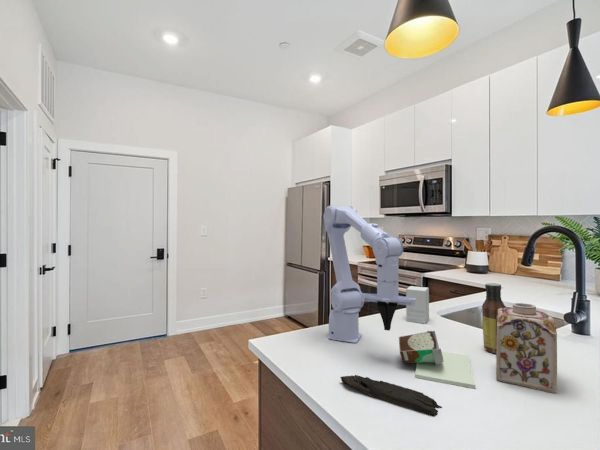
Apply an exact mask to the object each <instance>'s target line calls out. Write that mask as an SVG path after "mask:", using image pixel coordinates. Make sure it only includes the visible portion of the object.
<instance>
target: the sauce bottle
mask: <svg viewBox="0 0 600 450" xmlns="http://www.w3.org/2000/svg"><path fill="white" fill-rule="evenodd" d="M484 285H485V286H484V287H485V291H486V292H485V293H486V294H485V295H486V296H485V300H484V302H483V303H482V334H483V335H482V337H483V348H484V350H485V351H487V352H489V353H491V354H495V355H496V339H497V335H496V334H497V325H496V324H497V320H496V319H497V310H498V309H500V308H507V307H506V305H505V304H504V302H503V300H502V297H501V296H502V293H501V290H502V285H501V284H500V283H493V282H492V283H491V282H489V283H488V282H487V283H484Z"/></svg>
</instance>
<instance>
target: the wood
mask: <svg viewBox="0 0 600 450" xmlns="http://www.w3.org/2000/svg"><path fill="white" fill-rule="evenodd" d="M340 379H341V380H340V381H341V382H342V384H345V385H349V386H350V387H353V388H356V389H357V390H359V391H361V392H362V393H364V394H365V395H367V396H370V397H372V398H374V399H378V400H384V401H386V402H389V403H392V404H396V405H397V406H401V407H404V408H405V409H409V410H413V411H415V412H419V413H421V414H423V415H426V416H429V417H430V416H431V417H433V418H434V417H437V416H438V412H439V410H438V409H442V408H443V406H441V405H439V404H438V403H437V401H436V400H435V399H434V398H432V397H430V396H428V395H426V394H424V392H420V391H417V390H415V389H411V388H409V387H404V386H401V385H397V384H395V383H390V382H388V381H383V380H380V381H379V380H374V379H372V378H370V377H368V376H365V377H364V376H361V375H357V374H354V375H344V376H343V375H342V376H340Z"/></svg>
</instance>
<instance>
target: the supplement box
mask: <svg viewBox="0 0 600 450" xmlns="http://www.w3.org/2000/svg"><path fill="white" fill-rule="evenodd" d="M429 294H430V289H429V287H428V286H427V287H425V286H416V285H414V286H413V285H410V286H408V287H407V288H406V289H405V297H410V298H415V307H413V306H409V305H405V307H406V309H405V312H406V314H405V315H406V322H412V323H417V324H427V323H428V321H429V320H430V295H429Z"/></svg>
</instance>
